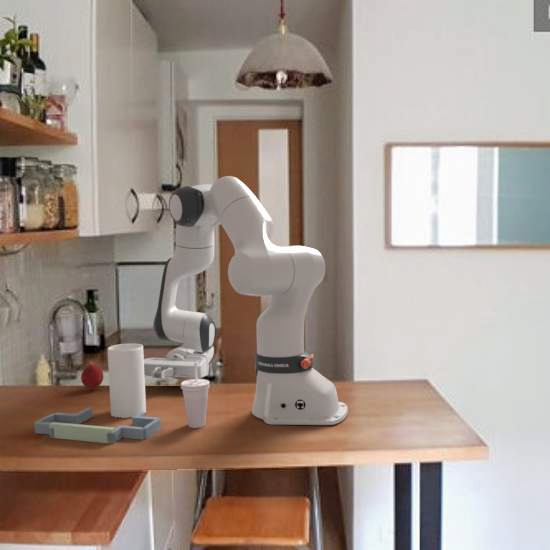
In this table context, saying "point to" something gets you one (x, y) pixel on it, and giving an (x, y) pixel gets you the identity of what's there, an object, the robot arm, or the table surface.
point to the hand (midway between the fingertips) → (157, 375)
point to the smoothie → (195, 400)
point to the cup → (126, 380)
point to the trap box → (95, 427)
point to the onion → (92, 376)
